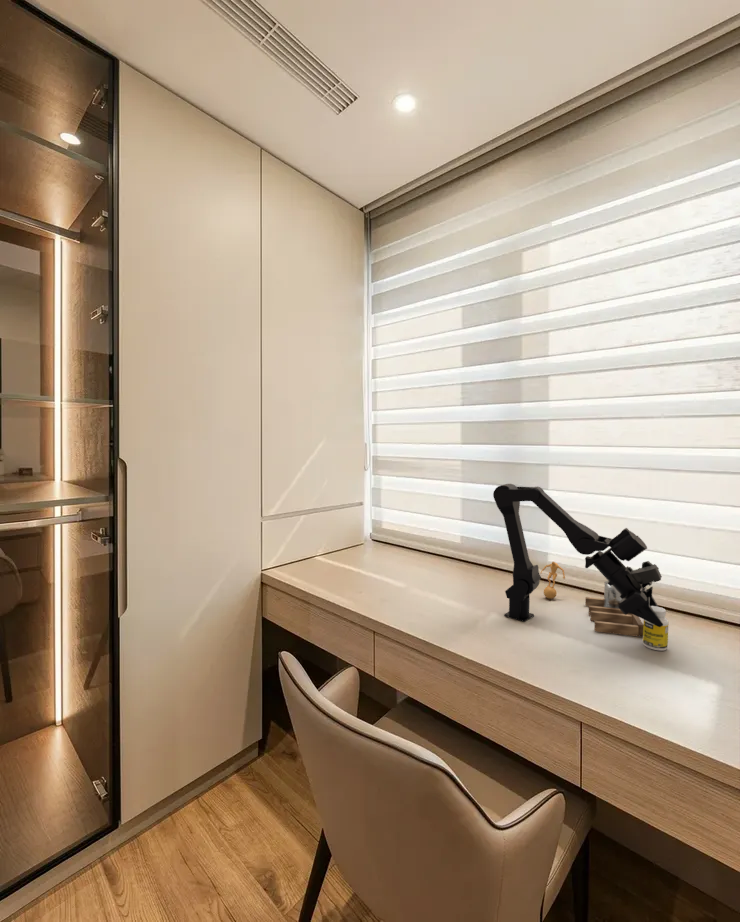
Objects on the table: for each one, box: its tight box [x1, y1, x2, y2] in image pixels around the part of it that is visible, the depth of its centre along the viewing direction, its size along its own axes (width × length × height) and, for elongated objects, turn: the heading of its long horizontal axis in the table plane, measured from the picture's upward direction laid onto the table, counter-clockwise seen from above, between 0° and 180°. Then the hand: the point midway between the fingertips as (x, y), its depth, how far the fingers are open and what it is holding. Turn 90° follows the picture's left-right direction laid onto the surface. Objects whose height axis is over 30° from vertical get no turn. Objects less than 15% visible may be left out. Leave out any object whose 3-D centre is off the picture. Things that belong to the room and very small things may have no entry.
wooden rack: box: [585, 596, 644, 638], centre depth 135 cm, size 12×21×3 cm, turn 162°
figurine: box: [539, 561, 566, 600], centre depth 153 cm, size 8×6×12 cm
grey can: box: [603, 580, 622, 609], centre depth 141 cm, size 5×5×9 cm
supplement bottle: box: [642, 606, 670, 652], centre depth 118 cm, size 5×5×10 cm
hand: (662, 622), depth 117 cm, fingers closed on supplement bottle, 5 cm apart
